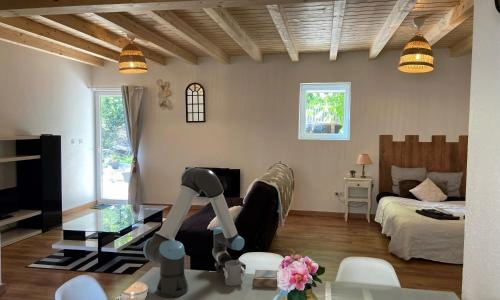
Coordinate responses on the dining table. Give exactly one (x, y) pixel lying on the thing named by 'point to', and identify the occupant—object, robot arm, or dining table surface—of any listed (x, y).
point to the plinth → (265, 278)
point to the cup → (233, 272)
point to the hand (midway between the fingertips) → (235, 274)
